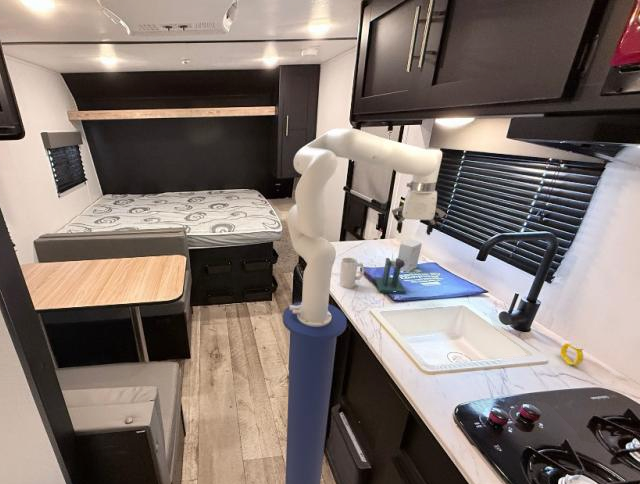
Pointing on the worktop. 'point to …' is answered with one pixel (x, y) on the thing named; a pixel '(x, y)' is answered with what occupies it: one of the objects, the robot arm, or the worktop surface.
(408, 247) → the small box
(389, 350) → the worktop surface
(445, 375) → the worktop surface
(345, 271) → the mug
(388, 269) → the toaster bracket
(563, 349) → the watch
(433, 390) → the worktop surface
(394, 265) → the toaster lever
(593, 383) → the worktop surface
